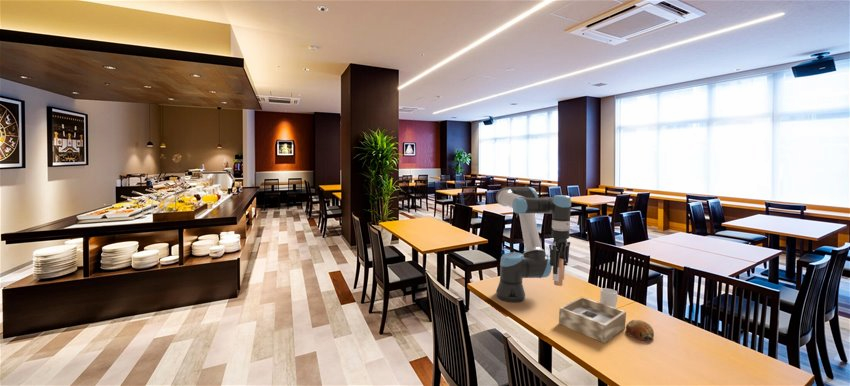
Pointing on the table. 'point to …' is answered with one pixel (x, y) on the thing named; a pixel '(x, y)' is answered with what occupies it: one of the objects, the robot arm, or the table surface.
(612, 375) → the table surface
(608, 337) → the socket box
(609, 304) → the mug
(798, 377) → the table surface
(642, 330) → the bread roll
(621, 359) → the table surface
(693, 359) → the table surface
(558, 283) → the peg
